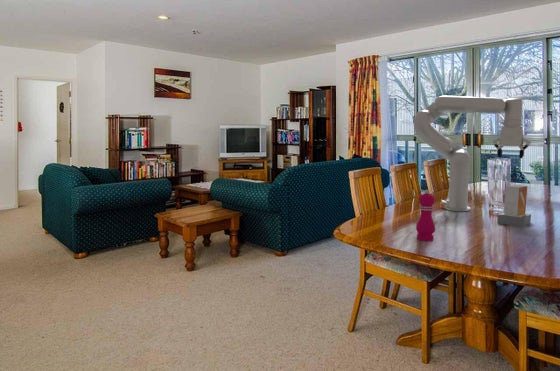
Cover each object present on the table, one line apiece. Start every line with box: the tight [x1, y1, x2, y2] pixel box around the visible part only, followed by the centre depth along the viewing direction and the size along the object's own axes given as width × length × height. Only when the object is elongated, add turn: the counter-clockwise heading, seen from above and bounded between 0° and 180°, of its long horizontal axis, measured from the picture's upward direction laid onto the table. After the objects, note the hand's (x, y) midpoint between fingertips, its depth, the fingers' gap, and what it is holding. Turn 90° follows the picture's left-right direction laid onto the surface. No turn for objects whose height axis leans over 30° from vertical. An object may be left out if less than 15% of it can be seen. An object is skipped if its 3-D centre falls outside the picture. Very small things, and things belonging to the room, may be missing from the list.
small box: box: [503, 184, 528, 216], centre depth 197 cm, size 8×6×13 cm
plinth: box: [496, 211, 532, 228], centre depth 198 cm, size 11×11×4 cm
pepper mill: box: [415, 189, 436, 242], centre depth 170 cm, size 7×7×20 cm
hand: (510, 157), depth 217 cm, fingers open, 9 cm apart
